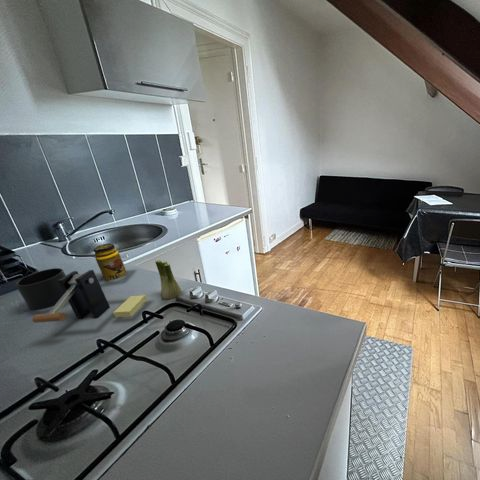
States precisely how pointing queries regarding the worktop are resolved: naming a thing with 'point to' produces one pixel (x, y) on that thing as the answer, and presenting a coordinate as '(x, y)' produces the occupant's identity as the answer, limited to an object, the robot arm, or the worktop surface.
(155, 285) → the worktop surface
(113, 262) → the condiment
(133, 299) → the butter
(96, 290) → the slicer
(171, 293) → the fennel bulb
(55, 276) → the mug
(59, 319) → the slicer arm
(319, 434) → the worktop surface
